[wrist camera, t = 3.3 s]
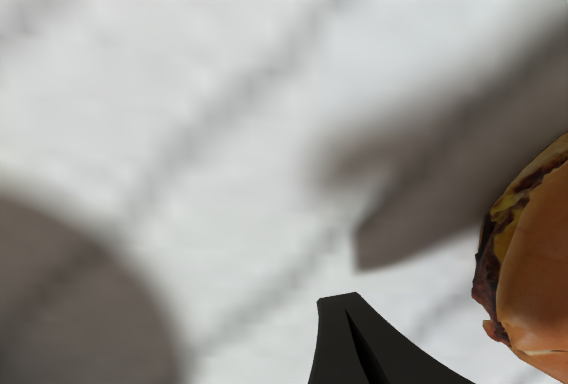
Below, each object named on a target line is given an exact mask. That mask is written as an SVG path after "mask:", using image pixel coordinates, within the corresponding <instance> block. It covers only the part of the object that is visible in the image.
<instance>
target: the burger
mask: <svg viewBox="0 0 568 384" xmlns="http://www.w3.org/2000/svg"><path fill="white" fill-rule="evenodd" d="M475 258H476V269H475V276H474V279H473V281H472V282H473V288H472V298H473V299H475V300H476V301H477V302H478V303H479V304H481V305H482V306H483V307H484V309H485V310H486V311H487V312H488V313H489V315H490V319H491V320H483V328H484V330H485V331H486V333H487V335H488V336H489V337H490V338H491V339H493V340H495V341H497V342H503V343H504V344H505V345H507V346H508V347H509V348H510V350H511V351H512V352H513V353H514V354H515V355H516V356H517V357H518V358H519V359H521V360H523V361H524V362H526V363H528V364H530V365H532V366H533V367H535V368H537V369H539V370H541V371H542V372H544V373H546V374H548V375H549V376H551V377H553V378H555V379H556V380H558V381H560V382H562V383H563V384H568V132H567V133H565V134H564V135H562V136H560V137H559V138H558V139H557V140H556V141H555V142H553V143H552V144H551V145H549V146H548V147H547V148H546V149H545V150H544V151H542V152H541V153H540V154H539V155H538V156H537V157H536V158H535V159H534V160H533V161H532V162H531V163H530V164H528V165H527V166H526V167H525V168H524V169H523V170H522V171H521V172H520V174H519V175H518V176H517V177H516V178H515V179H514V180H513V181H512V182H511V183H510V184H509V185H508V187H507V189H506V190H505V192H504V194H503V195H502V196H501V197H500V198H499V199H498V200H497V201H496V202H495V203H494V205H493V206H492V208H491V210H490V211H489V212H488V213H487V214H486V215H485V218H484V222H483V226H482V230H481V233H480V240H479V249H478V253H477V254H475Z"/></svg>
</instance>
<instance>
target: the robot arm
mask: <svg viewBox="0 0 568 384" xmlns="http://www.w3.org/2000/svg"><path fill="white" fill-rule="evenodd" d="M317 308H318V315H319V322H318V335H317V343H316V349H315V355H314V360H313V365H312V369H311V373H310V377H309V381H308V384H475V383H473V382H472V381H470V380H468V379H466V378H464V377H462V376H461V375H459V374H457V373H456V372H454V371H452V370H451V369H449V368H448V367H446V366H445V365H443V364H442V363H440V362H439V361H437V360H436V359H434V358H433V357H431V356H430V355H428V354H427V353H426V352H424V351H423V350H421V349H420V348H419V347H418V346H416V345H415V344H414V343H412V342H411V341H410V340H408V339H407V338H406V337H405V336H404V335H402V334H401V333H400V332H399V331H398V330H396V329H395V328H394V327H393V326H392V325H391V324H389V323H388V322H387V321H386V320H385V319H384V318H383V317H382V316H381V315H380V314H378V313H377V312H376V311H375V310H374V309H373V308H372V307H371V306H370V305H369V304H368V303H367V302H366V301H365V300H364V299H363V298H362V297H361V296H360V294H358V293H357V292H352V293H347V294H341V295H336V296H330V297H324V298H319V300H318V301H317Z"/></svg>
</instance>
